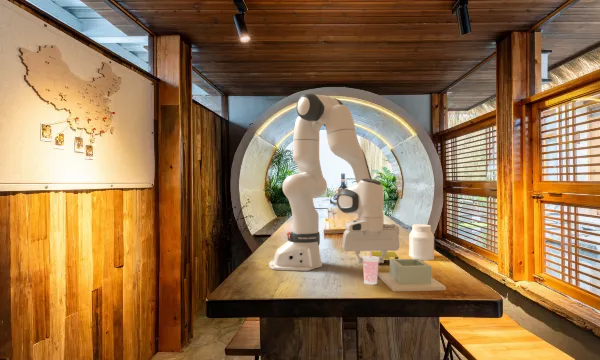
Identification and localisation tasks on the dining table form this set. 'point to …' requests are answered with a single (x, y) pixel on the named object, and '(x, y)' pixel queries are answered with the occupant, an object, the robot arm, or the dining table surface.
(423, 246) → the jar
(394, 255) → the bracket
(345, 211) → the robot arm
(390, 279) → the cup well
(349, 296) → the dining table surface
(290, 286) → the dining table surface
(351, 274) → the dining table surface
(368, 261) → the beverage cup
